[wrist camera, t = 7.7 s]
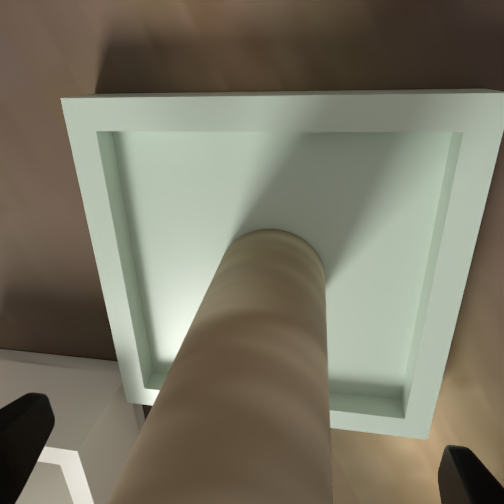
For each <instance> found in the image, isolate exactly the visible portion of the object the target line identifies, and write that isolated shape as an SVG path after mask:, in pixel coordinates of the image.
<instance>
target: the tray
mask: <svg viewBox="0 0 504 504" xmlns="http://www.w3.org/2000/svg"><path fill="white" fill-rule="evenodd" d="M60 99H61V103H62V108H63V112H64V117H65V121H66V126H67V131H68V135H69V140H70V144H71V149H72V153H73V158H74V163H75V167H76V172H77V176H78V181H79V186H80V190H81V195H82V199H83V204H84V208H85V213H86V218H87V222H88V227H89V231H90V236H91V241H92V245H93V250H94V254H95V259H96V263H97V268H98V273H99V277H100V282H101V286H102V291H103V295H104V300H105V305H106V309H107V314H108V318H109V323H110V328H111V332H112V337H113V341H114V346H115V350H116V355H117V360H118V364H119V369H120V373H121V378H122V383H123V387H124V392H125V396H126V401H127V403H135V404H143V405H151V406H153V404H154V402H155V400H156V397H157V395H158V393H159V391H160V389H161V387H162V385H163V383H164V381H165V378H166V376H167V374H168V372H169V370H170V368H171V366H172V364H173V361H174V359H175V357H176V355H177V353H178V351H179V349H180V347H181V344H182V342H183V340H184V338H185V336H186V334H187V332H188V330H189V328H190V325H191V323H192V321H193V319H194V317H195V315H196V313H197V311H198V308H199V306H200V304H201V302H202V300H203V298H204V296H205V294H206V291H207V289H208V287H209V285H210V283H211V281H212V279H213V277H214V274H215V272H216V270H217V268H218V266H219V264H220V262H221V260H222V258H223V255H224V253H225V251H226V250H227V249H228V247H229V246H230V245H231V244H232V243H233V242H234V241H235V240H236V239H237V238H239V237H241V236H242V235H244V234H246V233H249V232H251V231H255V230H259V229H280V230H284V231H288V232H290V233H293V234H295V235H297V236H299V237H301V238H302V239H304V240H305V241H306V242H308V243H309V244H310V245H311V246H312V247H313V248H314V249H315V251H316V252H317V254H318V255H319V257H320V259H321V261H322V264H323V267H324V272H325V294H326V322H327V351H328V379H329V408H330V428H337V429H345V430H353V431H361V432H369V433H377V434H385V435H393V436H401V437H409V438H417V439H425V440H427V439H428V435H429V431H430V427H431V423H432V418H433V414H434V410H435V406H436V402H437V398H438V394H439V390H440V386H441V382H442V378H443V374H444V370H445V366H446V362H447V358H448V354H449V350H450V345H451V341H452V337H453V333H454V329H455V325H456V321H457V317H458V313H459V309H460V305H461V301H462V297H463V293H464V289H465V285H466V281H467V277H468V272H469V268H470V264H471V260H472V256H473V252H474V248H475V244H476V240H477V236H478V232H479V228H480V224H481V220H482V216H483V212H484V208H485V204H486V199H487V195H488V191H489V187H490V183H491V179H492V175H493V171H494V167H495V163H496V159H497V155H498V151H499V147H500V143H501V139H502V135H503V131H504V91H498V90H491V89H411V90H337V91H263V92H189V93H115V94H89V95H81V96H73V97H66V98H60Z"/></svg>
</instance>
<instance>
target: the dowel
mask: <svg viewBox="0 0 504 504" xmlns="http://www.w3.org/2000/svg"><path fill="white" fill-rule="evenodd" d="M107 504H333V493H332V465H331V436H330V408H329V379H328V351H327V322H326V294H325V272H324V267H323V264H322V261H321V259H320V257H319V255H318V254H317V252H316V251H315V249H314V248H313V247H312V246H311V245H310V244H309V243H308V242H306V241H305V240H304V239H302V238H301V237H299V236H297V235H295V234H293V233H290V232H288V231H284V230H280V229H259V230H255V231H251V232H249V233H246V234H244V235H242V236H241V237H239V238H237V239H236V240H235V241H234V242H233V243H232V244H231V245H230V246H229V247H228V249H227V250H226V251H225V253H224V255H223V258H222V260H221V262H220V264H219V266H218V268H217V270H216V272H215V274H214V277H213V279H212V281H211V283H210V285H209V287H208V289H207V291H206V294H205V296H204V298H203V300H202V302H201V304H200V306H199V308H198V311H197V313H196V315H195V317H194V319H193V321H192V323H191V325H190V328H189V330H188V332H187V334H186V336H185V338H184V340H183V342H182V344H181V347H180V349H179V351H178V353H177V355H176V357H175V359H174V361H173V364H172V366H171V368H170V370H169V372H168V374H167V376H166V378H165V381H164V383H163V385H162V387H161V389H160V391H159V393H158V395H157V397H156V400H155V402H154V404H153V406H152V408H151V410H150V412H149V414H148V417H147V419H146V421H145V423H144V425H143V427H142V429H141V431H140V434H139V436H138V438H137V440H136V442H135V444H134V446H133V448H132V451H131V453H130V455H129V457H128V459H127V461H126V463H125V465H124V467H123V470H122V472H121V474H120V476H119V478H118V480H117V482H116V484H115V487H114V489H113V491H112V493H111V495H110V497H109V499H108V501H107Z"/></svg>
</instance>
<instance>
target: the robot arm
mask: <svg viewBox="0 0 504 504" xmlns="http://www.w3.org/2000/svg"><path fill="white" fill-rule="evenodd" d="M54 425H55V416H54V413H53V410H52V407H51V404H50V401H49V398H48V396H47V395H46V394H43V393H35V392H30V393H27V394H25V395H23V396H21V397H20V398H18V399H16V400H14V401H13V402H11V403H9V404H8V405H6V406H4V407H2V408H1V409H0V504H15V503H16V501H17V500H18V498H19V496H20V494H21V493H22V491H23V489H24V487H25V485H26V483H27V481H28V479H29V477H30V475H31V473H32V471H33V469H34V467H35V465H36V463H37V461H38V459H39V457H40V455H41V453H42V451H43V449H44V447H45V445H46V442H47V440H48V438H49V436H50V434H51V432H52V430H53V428H54ZM438 484H439V490H440V497H441V503H442V504H504V488H503V486H502V485H501V484H500V483H499V482H498V481H497V480H496V478H495V477H494V476H493V475H492V474H491V473H490V471H489V470H488V469H487V468H486V467H485V466H484V465H483V463H482V462H481V461H480V460H479V459H478V458H477V456H476V455H475V454H474V453H473V452H472V451H471V450H470V449H469V448H467V447H462V446H455V445H447V446H446V447H445V449H444V452H443V456H442V459H441V463H440V467H439V470H438Z"/></svg>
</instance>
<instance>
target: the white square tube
mask: <svg viewBox="0 0 504 504" xmlns="http://www.w3.org/2000/svg"><path fill="white" fill-rule="evenodd" d="M30 392H35V393H43V394H46V395H47V396H48V398H49V401H50V404H51V407H52V410H53V413H54V416H55V425H54V428H53V430H52V432H51V434H50V436H49V438H48V440H47V442H46V445H45V447H44V449H43V451H42V453H41V455H40V457H39V459H38V461H37V463H36V465H35V467H34V469H33V471H32V473H31V475H30V477H29V479H28V481H27V483H26V485H25V487H24V489H23V491H22V493H21V494H20V496H19V498H18V500H17V501H16V503H15V504H107V501H108V499H109V497H110V495H111V493H112V491H113V489H114V487H115V484H116V482H117V480H118V478H119V476H120V474H121V472H122V470H123V467H124V465H125V463H126V461H127V459H128V457H129V455H130V453H131V451H132V448H133V446H134V444H135V442H136V440H137V438H138V436H139V434H140V431H141V429H142V427H143V425H144V423H145V416H144V411H143V406H142V404H135V403H127V401H126V396H125V392H124V387H123V383H122V378H121V373H120V369H119V364H118V361H110V360H100V359H91V358H81V357H72V356H62V355H53V354H44V353H34V352H25V351H15V350H6V349H0V409H1V408H2V407H4V406H6V405H8V404H9V403H11V402H13V401H14V400H16V399H18V398H20V397H21V396H23V395H25V394H27V393H30Z"/></svg>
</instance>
